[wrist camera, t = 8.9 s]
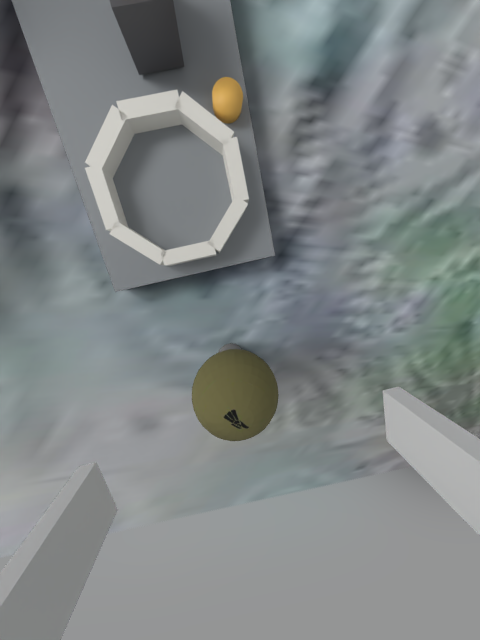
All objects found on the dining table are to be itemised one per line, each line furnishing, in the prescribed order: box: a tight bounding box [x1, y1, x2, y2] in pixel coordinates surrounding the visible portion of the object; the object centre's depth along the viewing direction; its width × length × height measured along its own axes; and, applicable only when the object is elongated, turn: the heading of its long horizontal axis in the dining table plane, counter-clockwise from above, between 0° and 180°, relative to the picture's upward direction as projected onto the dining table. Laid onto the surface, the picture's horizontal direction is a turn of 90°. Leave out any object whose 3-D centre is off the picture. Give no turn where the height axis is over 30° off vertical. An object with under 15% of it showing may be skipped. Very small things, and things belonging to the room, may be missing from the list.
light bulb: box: [192, 343, 278, 441], centre depth 17 cm, size 6×6×10 cm
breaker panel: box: [12, 0, 275, 292], centre depth 15 cm, size 13×28×4 cm, turn 12°
